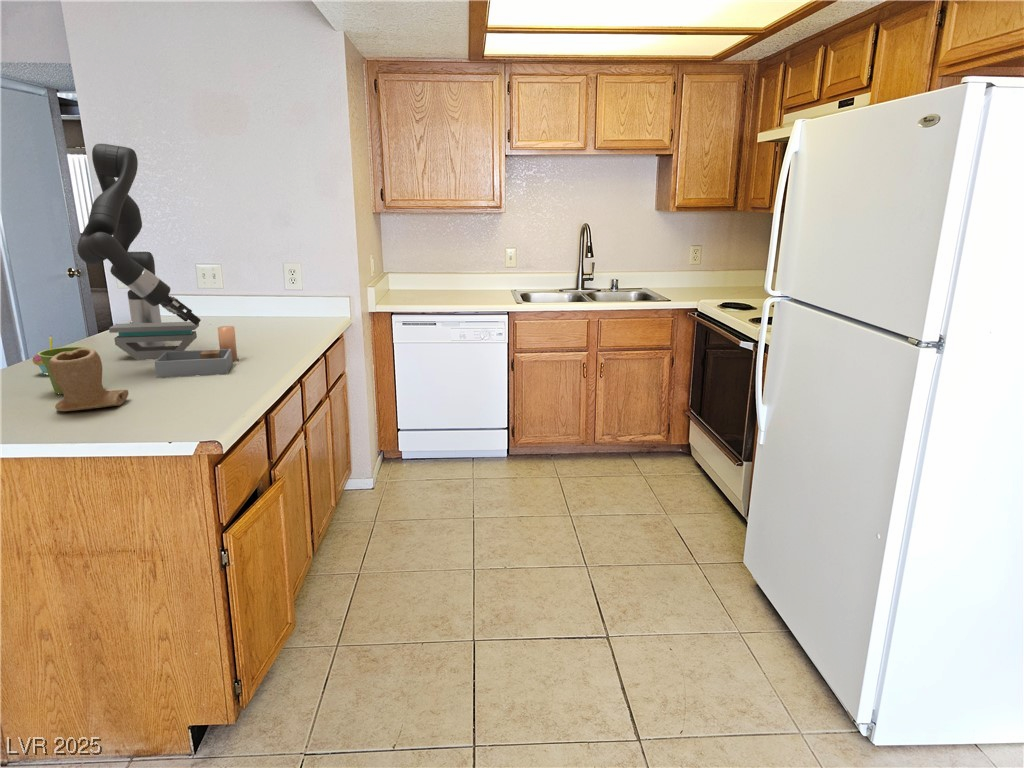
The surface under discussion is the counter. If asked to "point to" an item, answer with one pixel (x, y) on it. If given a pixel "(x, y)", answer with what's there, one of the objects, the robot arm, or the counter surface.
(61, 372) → the tan hollow clay piece
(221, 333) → the peach dome-topped cylinder
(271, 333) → the counter surface
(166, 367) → the tote
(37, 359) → the cupcake
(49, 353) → the plant pot
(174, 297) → the robot arm
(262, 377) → the counter surface
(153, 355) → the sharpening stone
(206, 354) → the cube
